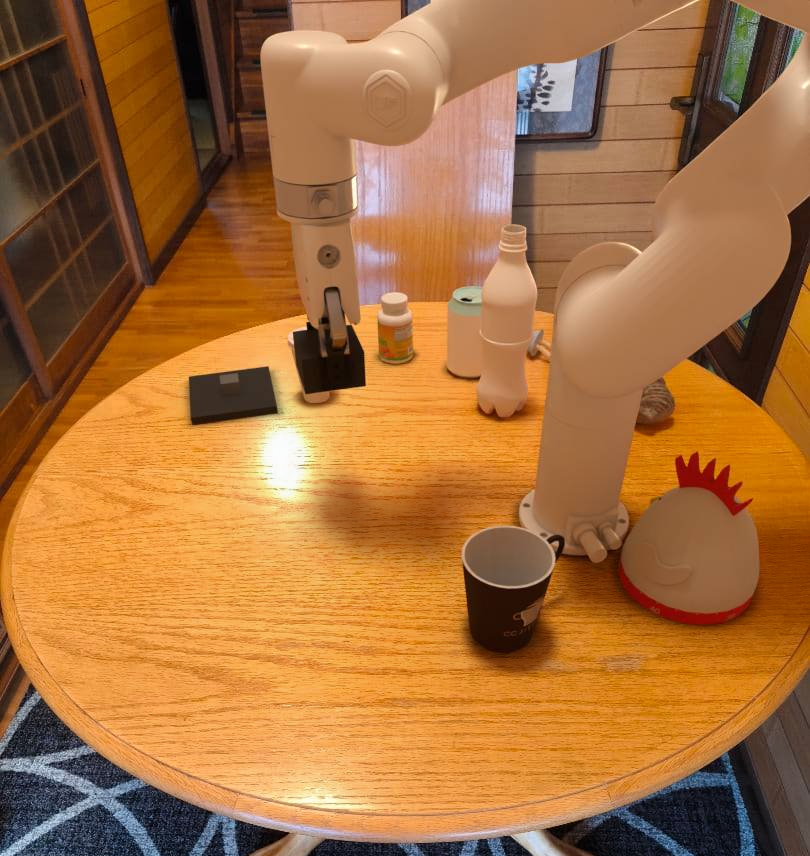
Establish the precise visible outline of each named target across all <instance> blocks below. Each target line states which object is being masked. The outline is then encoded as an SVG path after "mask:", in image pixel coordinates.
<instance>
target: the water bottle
mask: <svg viewBox="0 0 810 856" xmlns="http://www.w3.org/2000/svg"><path fill="white" fill-rule="evenodd" d="M500 235H501V236H500V240H499V244H498V246H497V248H498V251H499V253H498V257H497V259H496V261H495V263H494V265H493V267H492V268H491V270H490V272H489V273H488V275H487V278H486V279H485V281H484V283H483V285H482V287H483V288H482V293H481V299H482V311H481V328H480V331H479V333H480V336H481V340H482V346H483V370H482V374H481V376H480V378H479V381H478V383H477V385H476V390H475V391H476V399H477V403H478V405H479V407H480V408H481V411H483V413H484V414H488V415H490V414H491V413H492V412H493V411H494V410H495V411H496V415H497V416H498V417H500V418H510V417H511V416H512V415H513V414H514V413H515V412H520V411H521V410H522V409H523V408H524V406H525V403H526V402H527V398H528V395H529V384H528V380H527V374H526V358H527V353H528V350H527V349H528V347H529V345H530V344H531V342H532V340H533V336H534V332H533V331H534V326H535V315H536V307H537V300H538V287H537V284H536V281H535V278H534V276H533V273H532V271H531V268H530V266H529V264H528V262H527V257H526V251H527V250H528V245H527V239H526V237H527V227H526V226H524V225H522V224H521V225H520V224H506V225H504V226H502V228H501V233H500Z"/></svg>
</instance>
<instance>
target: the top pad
mask: <svg viewBox="0 0 810 856" xmlns="http://www.w3.org/2000/svg"><path fill="white" fill-rule="evenodd" d="M346 327H347V335H348V343H349V350H350V357H351V375H352V386H351V387H349V388H343V389H335V390H328V391H329V392H334V391H341V390H348V389H355V388H362V387H363V388H364V387H366V386H367V382H366V378H367V377H366V361H365V360H366V357H365V356H366V355H365V350H364V348H363V346H362V343H361V342H360V339H359V337H358V335H357V333H356V330H355V328H354V326H353V324H346ZM292 331H293V330H292ZM324 332H325V340H326V341H327V338H328V337H330V330H324ZM293 340H294V349H295V358H296V365H295V367H296V366H297V369H298V372H299V376H300V379H301V382H302V385H303V388H304V391H305V394H312V393H319V392H327V391H323V390H322V389H321V386H320V375H319V363H318V353H321V352H320V345H319V337H318V330H317V329H310V330H302V331H293ZM297 369H296V370H297Z"/></svg>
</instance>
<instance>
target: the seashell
mask: <svg viewBox="0 0 810 856" xmlns="http://www.w3.org/2000/svg"><path fill="white" fill-rule="evenodd" d="M675 410H676V403H675V398H674V396H673V394H672V392H671V391H670V389H669V388H668V387H667V382H666V381H665V379H664V376H662V377H661V378H659V379H658V380H656V381H655V382H653V383H652V384H650V385H649V386H647V387H645V388H643V393H642V398H641V403H640V407H639V412H638V415H637V419H636V423H635V424H641V425H642V424H643V425H644V424H646V425H653V424H658V423H661V422H662V421H664V420H667V419H669V417H670V416H671V415H672V414H673V413H674V411H675Z"/></svg>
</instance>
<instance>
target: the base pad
mask: <svg viewBox="0 0 810 856" xmlns="http://www.w3.org/2000/svg"><path fill="white" fill-rule="evenodd" d="M188 389H189V391H188V392H189V410H190V411H189V412H190V414H189V415H190V422H191V425H192V426H194V425H203V424H209V423H216V422H223V421H229V420H230V421H232V420H237V419H239V420H240V419H245V418H246V419H247V418H252V417H253V418H254V417H259V416H267V415H274V414H278V413H279V410H278V405H277V404H278V403H277V399H276V395H275V391H274V385H273V381H272V376H271V372H270V367H269V365H268V366H267V365H266V366H260V367H252V368H251V367H250V368H243V369H236V370H229V371H228V370H227V371H221V372H212V373H205V374H204V373H203V374H197V375H189V376H188Z"/></svg>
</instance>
